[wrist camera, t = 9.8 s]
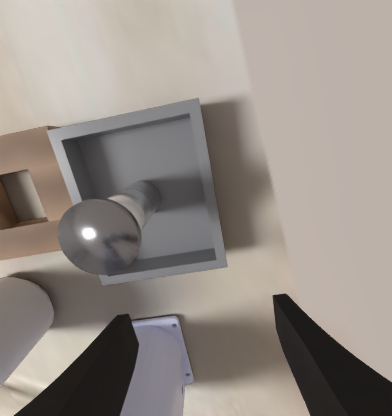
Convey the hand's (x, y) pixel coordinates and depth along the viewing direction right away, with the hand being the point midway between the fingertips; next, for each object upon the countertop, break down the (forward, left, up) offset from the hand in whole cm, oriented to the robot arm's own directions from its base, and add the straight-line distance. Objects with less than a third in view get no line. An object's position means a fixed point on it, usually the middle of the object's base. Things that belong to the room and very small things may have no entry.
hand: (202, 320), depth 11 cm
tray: (+5, +4, -10) cm, 12 cm away
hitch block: (+7, +15, -10) cm, 19 cm away
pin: (+5, +4, -10) cm, 12 cm away
